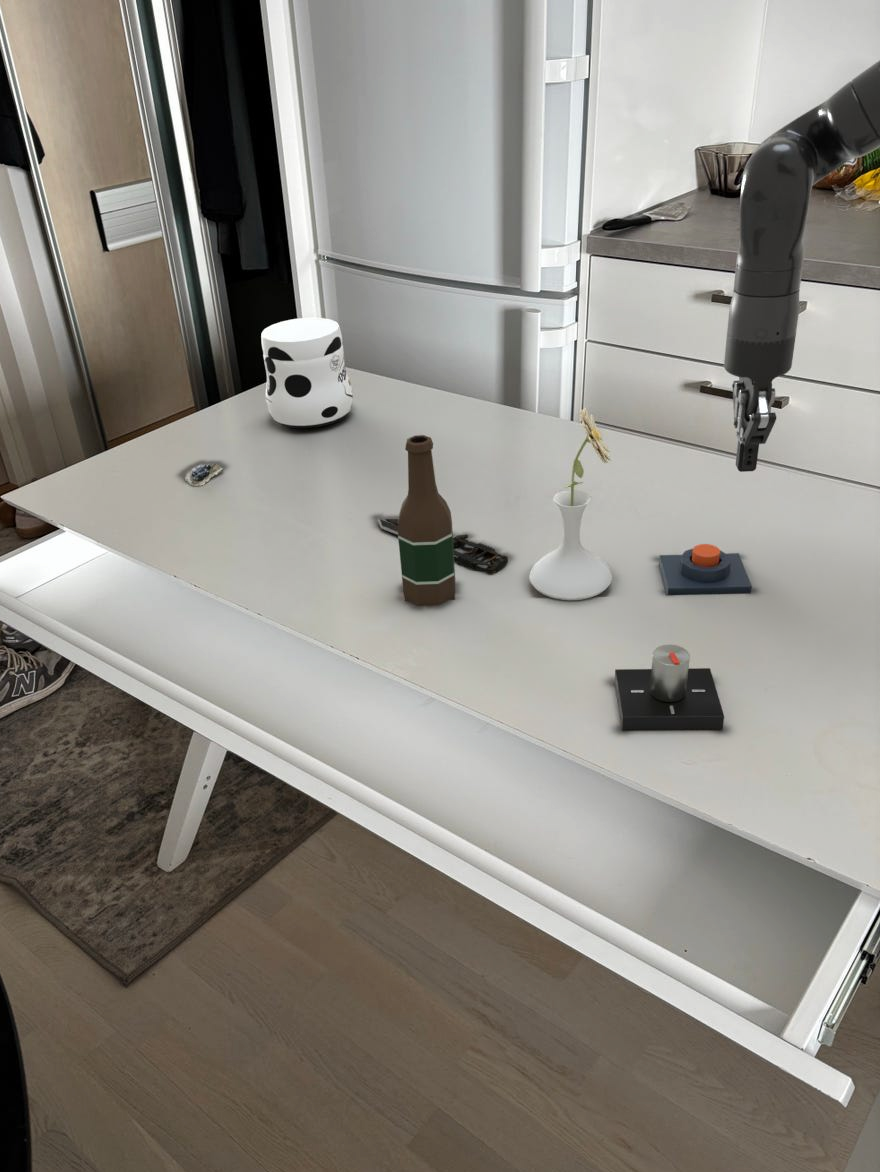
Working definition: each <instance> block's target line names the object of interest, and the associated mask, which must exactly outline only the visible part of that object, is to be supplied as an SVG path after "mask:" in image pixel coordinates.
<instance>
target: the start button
mask: <svg viewBox="0 0 880 1172" xmlns="http://www.w3.org/2000/svg"><path fill="white" fill-rule="evenodd" d="M692 549H693V553H692V563H694V564H695V565H699V566H703V567H713V566H716V565H718V563H719V558H720V550H721V549H720V548H719V547H718V546H716V545H714V544H710V543H700V544H697V545H695V546H693V548H692Z"/></svg>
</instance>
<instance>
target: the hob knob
mask: <svg viewBox="0 0 880 1172" xmlns="http://www.w3.org/2000/svg"><path fill="white" fill-rule="evenodd" d="M651 659H652V660H651V661H652V662H651V669H652V670H651V682H650V693H651V695H652V696H653V697H654V698H656V699H658V700H660V701H663V702H676V701H679V700H681V699H683V698H684V697H685V695H686V688H687V679H688V669H689V668H690V661H691V660H690V659H691V655H690V653H689V651H688V650H687V649H686V648H684V647H683V646H680V645H678V644H677V645H676V644H662V645H659V646H658V647H656V648H655V649H654V650H653V652H652V658H651Z"/></svg>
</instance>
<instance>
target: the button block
mask: <svg viewBox="0 0 880 1172" xmlns="http://www.w3.org/2000/svg"><path fill="white" fill-rule="evenodd" d="M692 553H693V548H690V549H687V550H685V551H684V552H683V553H682V554H659V557H658V568H659V569H658V570H659V572H660V576H661V580H662V584H663V587H664V591H665V595H666V596H703V595H704V596H707V595H751V594H752V590H753V589H752V588H753V585H752V583H751V581H750V578H749V576H748V573H747V571H746V568H745V566H744V563H743V560H742V558H741V556H740V553H739V552H735V553H734V552H732V553H730V552H729V553H726V552H724V551H722V550H721V549H720V558H719V563H718V565H716V566H713V567H703V566H699V565H695V564H694V563H692Z"/></svg>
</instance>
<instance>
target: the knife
mask: <svg viewBox="0 0 880 1172" xmlns="http://www.w3.org/2000/svg"><path fill="white" fill-rule="evenodd" d="M398 520H399V518H385V519H384V520H383V519H381V518H379V519H377V523H378V525H379V527H380V529H382V530H385V531H387V532H390V533H392V534H394V535H397V536H398ZM468 538H469V535H468V534H461V535H460V534H459V535H456V536H453V547H454V563H457V565H459V566H461V567H464V568H466V569H468V570H473V571H475V572H476V571H477V572H478V571H479V572H485V573H487V574H494V573H498V572H500V571H501V570H502V569H503V568H504V567H505V566H506V564H509V563H508V562H509V559H508V558H509V557H508V556H507V555H504V554H503V555H502V554H501V553H498V552H497V550H496V549H495V548H493V547H492V546H489V545H487V544H484V543H481V542H478V543H477V542H474V541H472V540H471V541H470V540H468ZM466 545H467V546H466ZM469 546H470V547H469ZM455 548H459V549H462V550H464V551H465V552H463V553H462V552H459V551H457V550H455ZM466 551H467V552H466ZM480 558H481V559H480ZM479 565H480V566H479ZM483 566H486V567H483Z"/></svg>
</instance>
